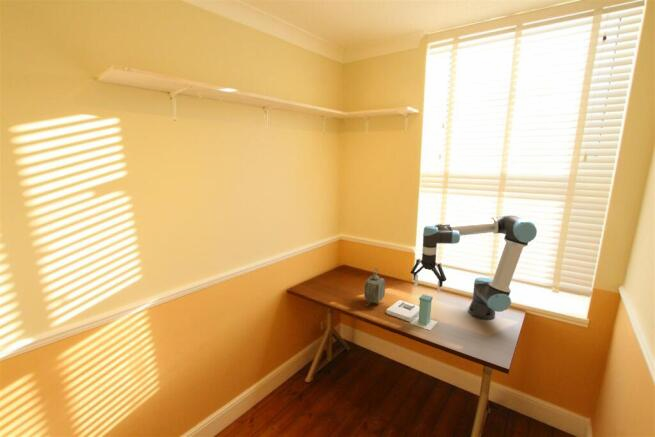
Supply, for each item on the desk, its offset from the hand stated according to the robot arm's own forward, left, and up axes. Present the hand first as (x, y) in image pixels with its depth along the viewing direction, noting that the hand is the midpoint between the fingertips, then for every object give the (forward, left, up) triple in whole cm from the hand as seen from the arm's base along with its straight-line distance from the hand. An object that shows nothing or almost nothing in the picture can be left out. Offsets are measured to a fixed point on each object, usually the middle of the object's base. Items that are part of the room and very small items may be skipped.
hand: (427, 288), depth 182 cm
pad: (0, 0, -22) cm, 22 cm away
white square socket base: (+15, -5, -22) cm, 27 cm away
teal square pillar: (0, 0, -21) cm, 21 cm away
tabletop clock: (+35, -2, -22) cm, 42 cm away
